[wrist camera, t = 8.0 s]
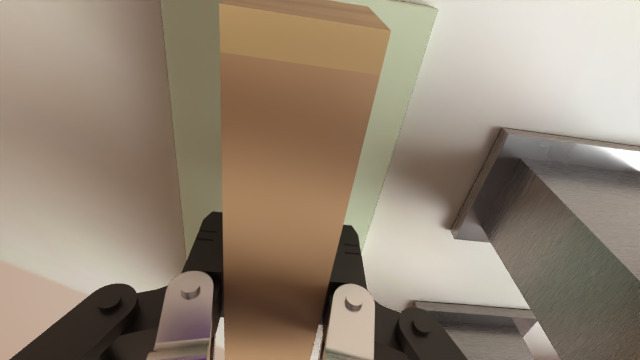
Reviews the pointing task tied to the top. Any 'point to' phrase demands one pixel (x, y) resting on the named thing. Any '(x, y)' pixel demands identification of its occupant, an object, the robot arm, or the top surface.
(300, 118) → the rail
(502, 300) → the top surface
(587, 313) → the post right
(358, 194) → the mat
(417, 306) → the post left
